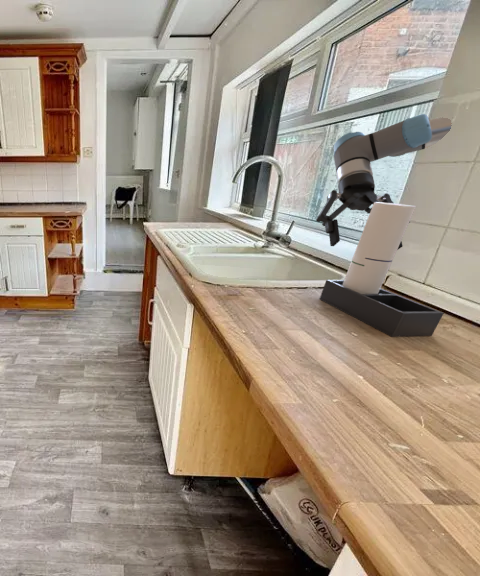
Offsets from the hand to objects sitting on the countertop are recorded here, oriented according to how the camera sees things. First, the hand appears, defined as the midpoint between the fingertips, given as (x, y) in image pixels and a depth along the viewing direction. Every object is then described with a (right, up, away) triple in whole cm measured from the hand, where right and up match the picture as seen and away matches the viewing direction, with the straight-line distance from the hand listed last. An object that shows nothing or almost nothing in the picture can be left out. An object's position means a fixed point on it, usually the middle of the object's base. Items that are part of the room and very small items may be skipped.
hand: (365, 246), depth 77 cm
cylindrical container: (-2, -15, +2) cm, 15 cm away
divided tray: (-1, -17, -3) cm, 17 cm away
